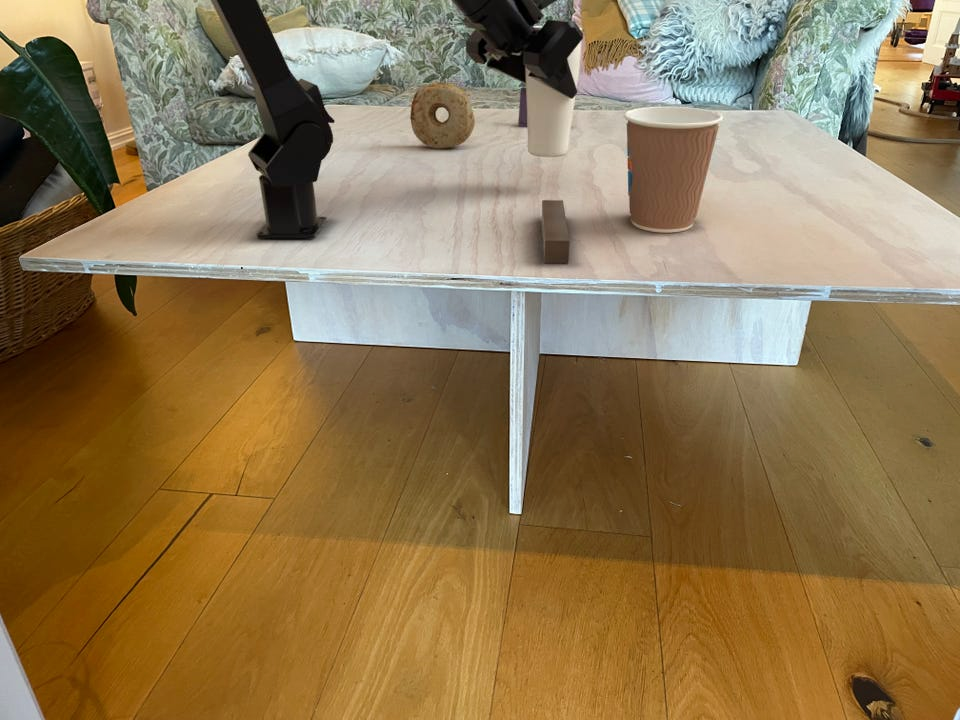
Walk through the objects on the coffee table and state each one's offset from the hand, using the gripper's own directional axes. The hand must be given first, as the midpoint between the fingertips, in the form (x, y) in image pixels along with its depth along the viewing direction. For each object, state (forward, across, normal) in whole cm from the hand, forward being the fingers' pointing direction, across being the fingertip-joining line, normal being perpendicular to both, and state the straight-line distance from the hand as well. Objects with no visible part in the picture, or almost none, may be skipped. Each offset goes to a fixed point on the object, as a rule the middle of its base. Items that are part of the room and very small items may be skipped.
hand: (559, 92), depth 93 cm
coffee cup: (+10, -19, +7) cm, 23 cm away
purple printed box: (+24, +37, -7) cm, 45 cm away
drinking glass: (+4, 0, +6) cm, 8 cm away
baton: (0, -18, +17) cm, 24 cm away
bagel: (+7, +30, +11) cm, 32 cm away
